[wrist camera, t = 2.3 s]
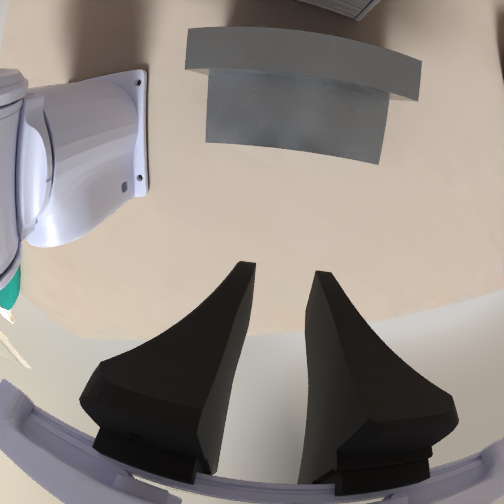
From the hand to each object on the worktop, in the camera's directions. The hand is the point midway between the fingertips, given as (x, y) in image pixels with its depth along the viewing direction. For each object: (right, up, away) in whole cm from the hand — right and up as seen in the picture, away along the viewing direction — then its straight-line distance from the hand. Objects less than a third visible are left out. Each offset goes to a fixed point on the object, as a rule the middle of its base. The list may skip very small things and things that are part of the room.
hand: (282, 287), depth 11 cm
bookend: (+2, +11, +4) cm, 12 cm away
